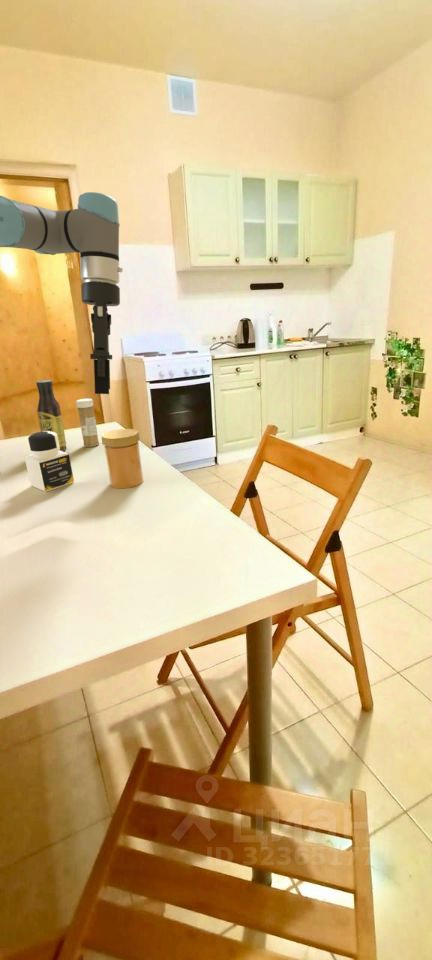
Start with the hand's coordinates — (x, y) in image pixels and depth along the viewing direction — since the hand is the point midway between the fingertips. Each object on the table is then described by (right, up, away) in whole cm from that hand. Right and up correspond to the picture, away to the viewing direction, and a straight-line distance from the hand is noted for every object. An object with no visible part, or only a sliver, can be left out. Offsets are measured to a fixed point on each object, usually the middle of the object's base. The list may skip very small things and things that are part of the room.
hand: (103, 391), depth 95 cm
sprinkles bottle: (-12, -9, +36) cm, 40 cm away
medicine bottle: (-13, -20, +7) cm, 25 cm away
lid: (+3, -9, +1) cm, 10 cm away
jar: (+4, -19, +5) cm, 20 cm away
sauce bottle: (-22, -11, +33) cm, 41 cm away
